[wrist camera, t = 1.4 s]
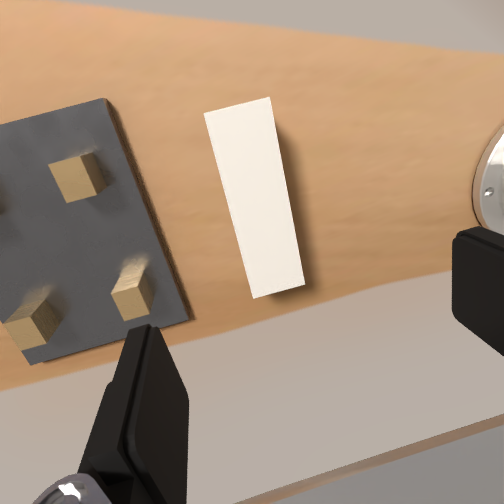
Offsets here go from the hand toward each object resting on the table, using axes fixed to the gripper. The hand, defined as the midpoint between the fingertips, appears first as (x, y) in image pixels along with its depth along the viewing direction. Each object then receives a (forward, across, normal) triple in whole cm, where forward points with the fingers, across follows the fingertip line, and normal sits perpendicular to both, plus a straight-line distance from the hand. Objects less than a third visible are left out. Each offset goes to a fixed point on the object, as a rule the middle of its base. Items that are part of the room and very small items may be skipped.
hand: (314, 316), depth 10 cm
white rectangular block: (+18, -1, 0) cm, 18 cm away
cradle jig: (+18, +14, 0) cm, 23 cm away
